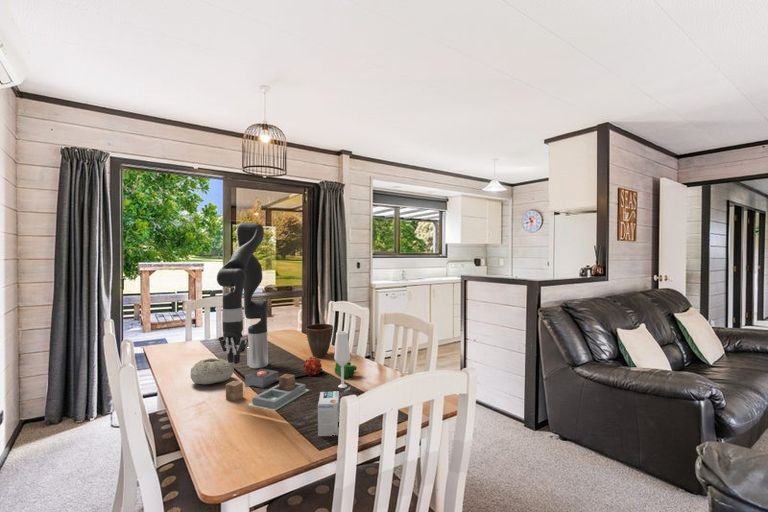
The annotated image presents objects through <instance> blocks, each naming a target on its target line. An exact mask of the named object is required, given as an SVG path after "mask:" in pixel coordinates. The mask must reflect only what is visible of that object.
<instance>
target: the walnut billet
mask: <svg viewBox="0 0 768 512" xmlns="http://www.w3.org/2000/svg"><path fill="white" fill-rule="evenodd" d="M242 398H244V383H243V381H237V380H232V381H230V382H228V383H226V384H225V400H226V401H230V402H236V401H238V400H241V399H242Z"/></svg>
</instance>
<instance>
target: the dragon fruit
mask: <svg viewBox="0 0 768 512" xmlns="http://www.w3.org/2000/svg"><path fill="white" fill-rule="evenodd" d="M322 365H323V364H322V363H321V359H320V358H318V357H314V356H310V357H309V358H308V359H306V360H305V361H304V364H303V370H304V372H305V373H306V375H308V377H313V376H315V375H319V373H320V372H322V371H323V369H324V368H323V366H322Z"/></svg>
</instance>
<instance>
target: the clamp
mask: <svg viewBox="0 0 768 512" xmlns="http://www.w3.org/2000/svg"><path fill="white" fill-rule="evenodd" d="M357 368H358V367H357V366H356V365H352V364H351V362H350V361H349V362H348V363H347V364H346V365H344V379H348V378H349V376H350V377H351V376H354V373H355V371H357ZM334 373H335V374H337V375H338V376H340V377H341V366H340V365H339V364H338V363H336V362H335V365H334Z"/></svg>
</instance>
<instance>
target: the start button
mask: <svg viewBox="0 0 768 512" xmlns="http://www.w3.org/2000/svg"><path fill="white" fill-rule="evenodd" d="M266 374H267V372H266V371H260V372H257V375H260V376H263V375H266Z"/></svg>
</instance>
